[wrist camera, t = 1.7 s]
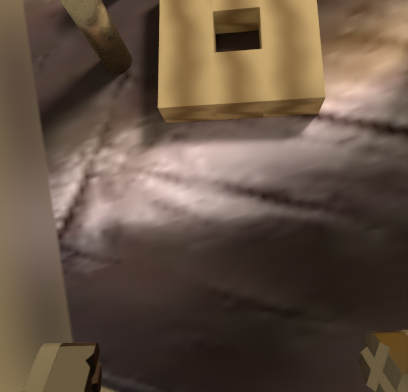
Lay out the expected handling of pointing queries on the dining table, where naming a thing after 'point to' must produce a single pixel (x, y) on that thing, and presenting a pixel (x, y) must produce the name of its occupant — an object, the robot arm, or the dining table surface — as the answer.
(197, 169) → the dining table surface
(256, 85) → the hole block
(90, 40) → the tall metal pin
